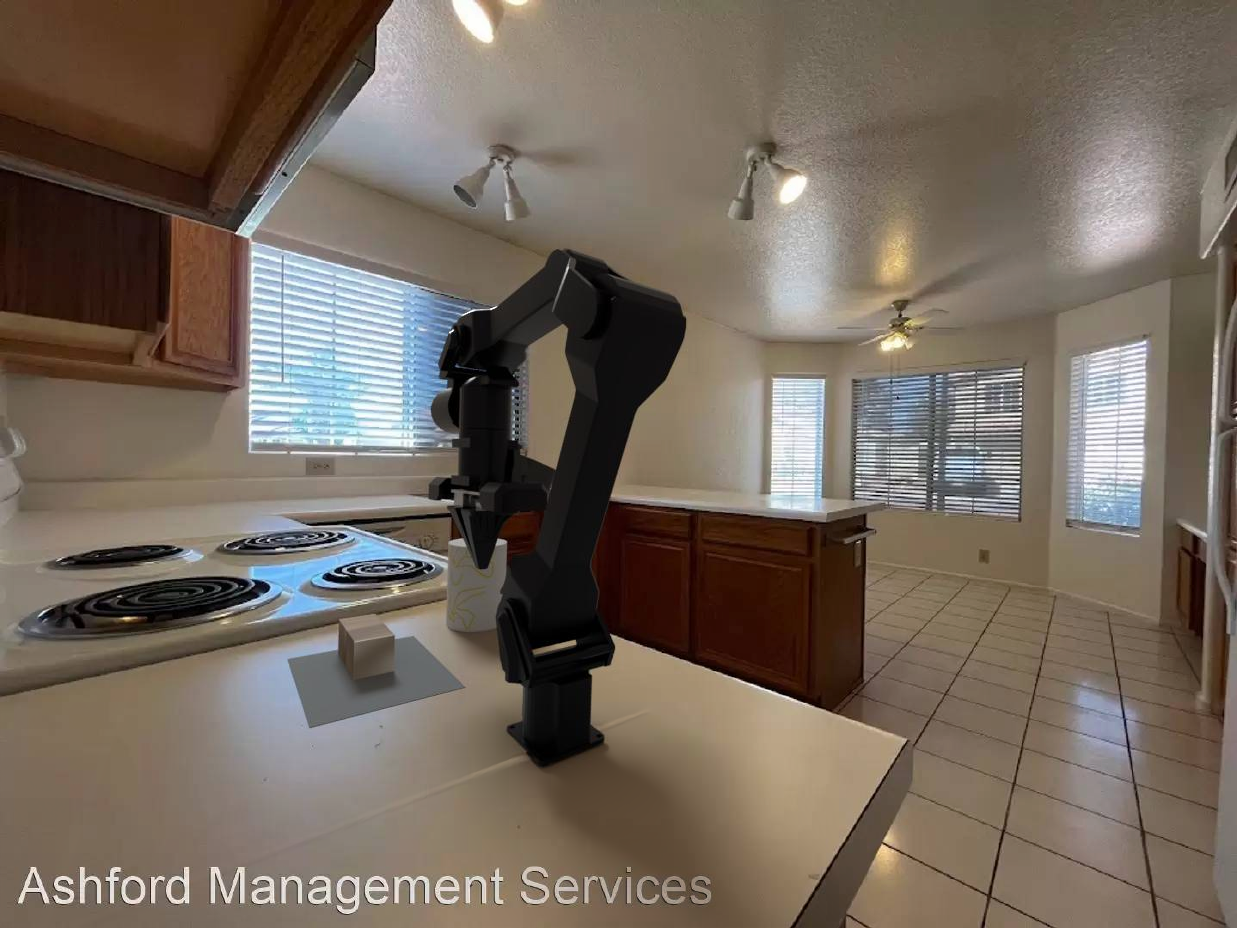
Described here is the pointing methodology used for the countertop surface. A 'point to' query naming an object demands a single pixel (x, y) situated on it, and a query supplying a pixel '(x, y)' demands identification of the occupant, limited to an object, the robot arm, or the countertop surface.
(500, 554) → the cup
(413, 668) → the mat
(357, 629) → the walnut block
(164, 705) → the countertop surface
